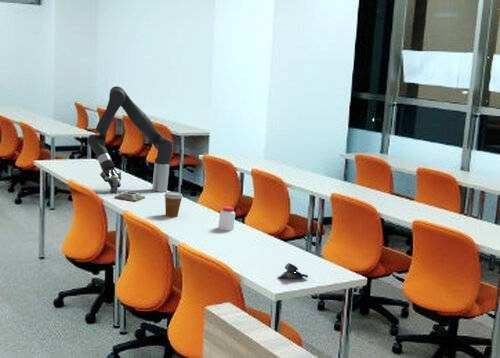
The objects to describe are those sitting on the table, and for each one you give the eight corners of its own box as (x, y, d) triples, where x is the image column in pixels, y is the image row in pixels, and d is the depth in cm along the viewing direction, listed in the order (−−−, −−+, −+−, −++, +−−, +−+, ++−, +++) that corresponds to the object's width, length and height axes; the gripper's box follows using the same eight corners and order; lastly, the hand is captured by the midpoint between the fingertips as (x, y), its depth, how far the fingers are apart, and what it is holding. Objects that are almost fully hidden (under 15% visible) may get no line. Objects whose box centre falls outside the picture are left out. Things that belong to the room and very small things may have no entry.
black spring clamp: (274, 272, 264) (278, 280, 252) (278, 257, 263) (282, 265, 252) (302, 279, 265) (307, 288, 254) (306, 264, 265) (312, 272, 253)
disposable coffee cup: (159, 215, 338) (161, 192, 336) (168, 212, 347) (170, 190, 345) (175, 218, 335) (177, 196, 333) (183, 215, 344) (186, 193, 342)
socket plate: (123, 194, 379) (124, 189, 379) (144, 198, 377) (145, 193, 376) (114, 198, 367) (114, 193, 366) (135, 201, 364) (136, 196, 364)
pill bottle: (222, 230, 321) (224, 209, 320) (215, 226, 328) (218, 205, 326) (236, 230, 325) (238, 209, 323) (229, 226, 332) (231, 205, 330)
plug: (112, 191, 384) (113, 175, 383) (118, 192, 383) (119, 176, 382) (109, 192, 380) (110, 176, 379) (115, 193, 379) (116, 177, 378)
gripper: (98, 159, 379) (109, 183, 372) (118, 159, 389) (129, 182, 383) (92, 166, 383) (103, 191, 377) (113, 166, 393) (123, 189, 387)
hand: (116, 186), depth 380 cm, fingers closed on plug, 4 cm apart
